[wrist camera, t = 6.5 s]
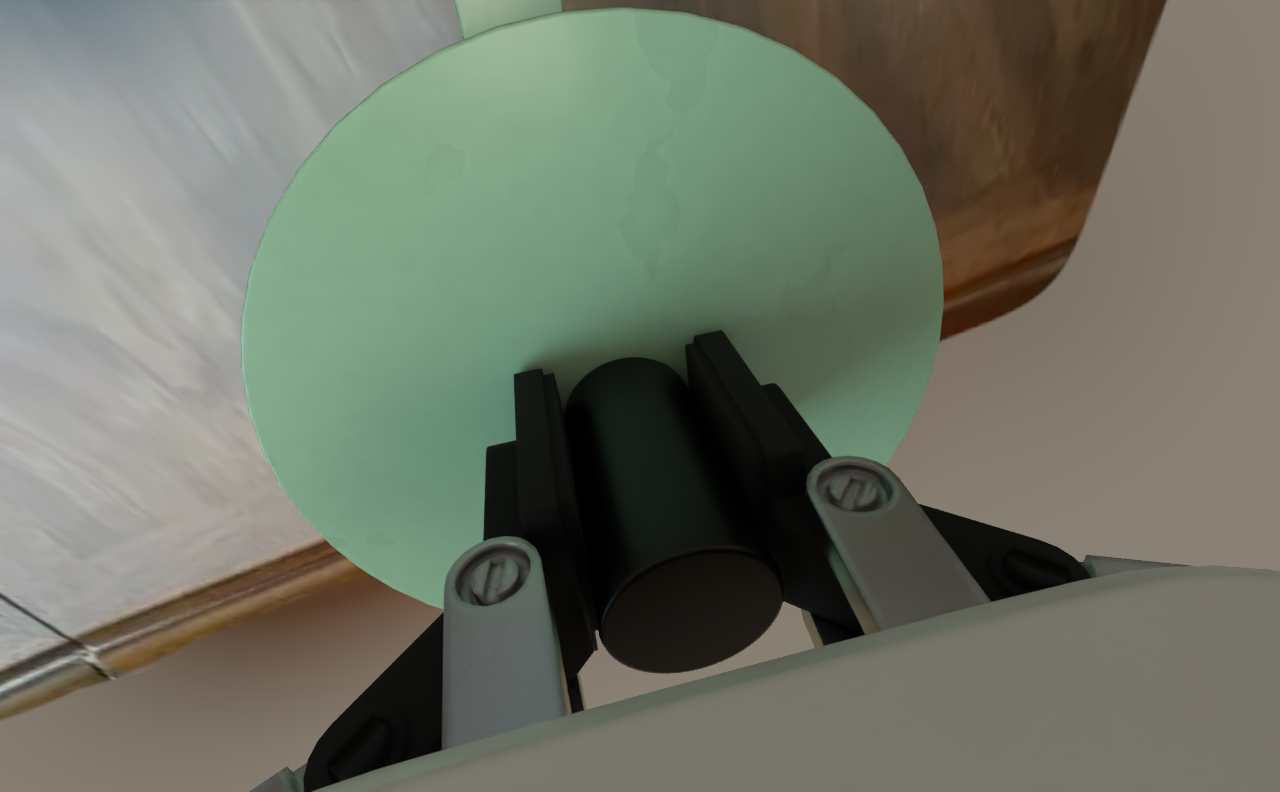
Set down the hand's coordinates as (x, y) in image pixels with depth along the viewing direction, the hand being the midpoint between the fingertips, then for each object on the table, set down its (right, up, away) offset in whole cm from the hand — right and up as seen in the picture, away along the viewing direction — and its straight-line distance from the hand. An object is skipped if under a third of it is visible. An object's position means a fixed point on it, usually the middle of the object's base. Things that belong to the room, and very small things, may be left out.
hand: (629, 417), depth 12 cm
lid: (0, 0, +1) cm, 1 cm away
